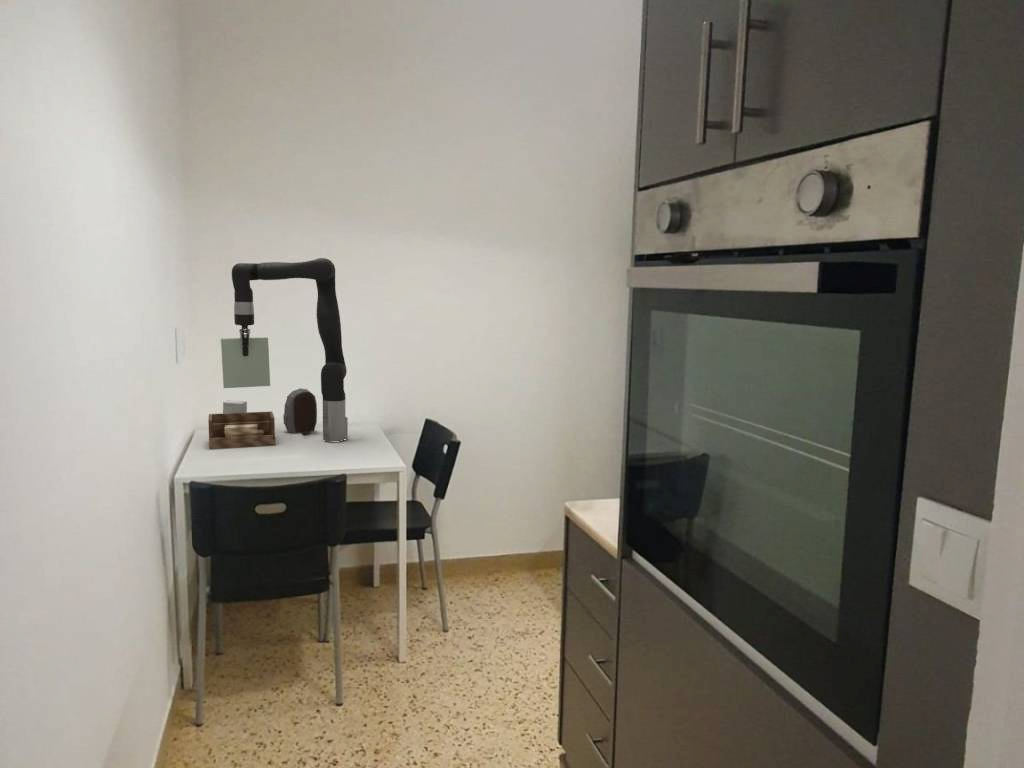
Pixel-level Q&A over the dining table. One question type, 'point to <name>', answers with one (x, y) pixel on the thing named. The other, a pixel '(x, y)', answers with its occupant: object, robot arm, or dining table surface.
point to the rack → (260, 418)
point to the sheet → (245, 363)
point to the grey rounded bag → (300, 412)
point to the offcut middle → (260, 433)
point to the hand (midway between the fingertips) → (245, 355)
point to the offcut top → (241, 429)
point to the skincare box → (234, 406)
